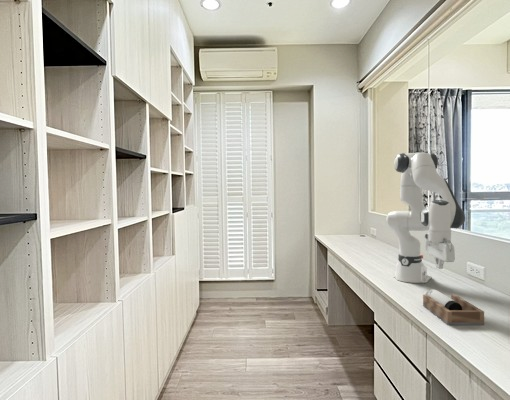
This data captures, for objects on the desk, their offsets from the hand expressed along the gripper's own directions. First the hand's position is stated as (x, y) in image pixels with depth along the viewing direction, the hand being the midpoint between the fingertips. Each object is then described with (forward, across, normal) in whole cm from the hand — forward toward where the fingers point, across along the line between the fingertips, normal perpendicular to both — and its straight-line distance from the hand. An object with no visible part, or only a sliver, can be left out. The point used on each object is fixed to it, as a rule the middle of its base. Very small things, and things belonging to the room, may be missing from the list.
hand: (439, 268), depth 165 cm
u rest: (+17, -11, 0) cm, 20 cm away
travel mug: (+13, +2, +2) cm, 13 cm away
